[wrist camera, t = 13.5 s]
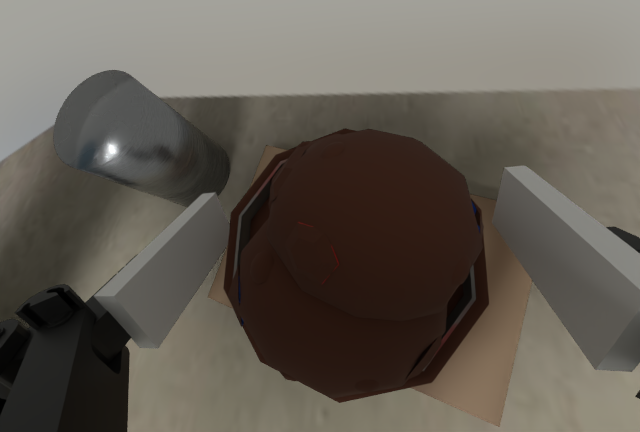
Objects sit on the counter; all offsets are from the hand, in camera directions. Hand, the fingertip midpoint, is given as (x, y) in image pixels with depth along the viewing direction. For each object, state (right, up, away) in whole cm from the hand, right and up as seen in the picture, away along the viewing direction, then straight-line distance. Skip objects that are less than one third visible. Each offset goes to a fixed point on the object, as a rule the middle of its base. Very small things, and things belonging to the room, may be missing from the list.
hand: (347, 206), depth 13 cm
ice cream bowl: (+2, -4, +7) cm, 9 cm away
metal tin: (-14, +4, +14) cm, 20 cm away
